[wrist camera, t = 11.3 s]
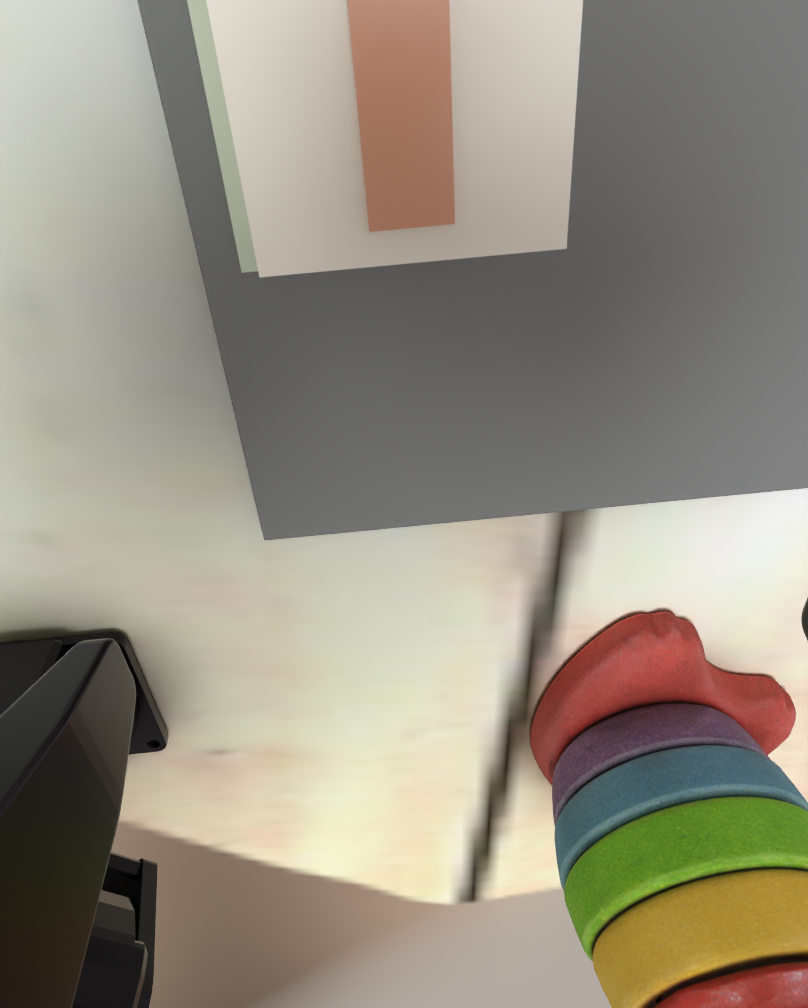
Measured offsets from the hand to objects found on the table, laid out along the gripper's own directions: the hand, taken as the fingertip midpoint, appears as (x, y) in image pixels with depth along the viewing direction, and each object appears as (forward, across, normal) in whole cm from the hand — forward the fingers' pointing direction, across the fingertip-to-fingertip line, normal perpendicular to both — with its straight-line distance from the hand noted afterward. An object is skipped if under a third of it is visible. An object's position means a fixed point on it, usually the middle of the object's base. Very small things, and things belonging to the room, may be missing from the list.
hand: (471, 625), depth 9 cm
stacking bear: (+12, -9, +19) cm, 24 cm away
